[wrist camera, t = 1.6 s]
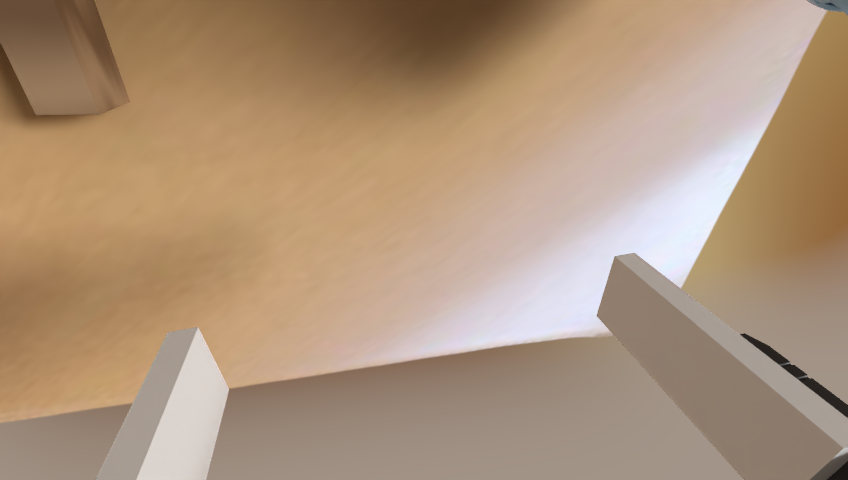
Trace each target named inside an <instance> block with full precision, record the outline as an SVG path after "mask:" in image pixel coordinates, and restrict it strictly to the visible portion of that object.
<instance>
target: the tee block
mask: <svg viewBox="0 0 848 480" xmlns="http://www.w3.org/2000/svg"><path fill="white" fill-rule="evenodd" d="M0 43H1V45H2V47H3V49H4V51H5V53H6V55H7V57H8V59H9V61H10V63H11V65H12V67H13V70H14V72H15V74H16V76H17V78H18V80H19V82H20V84H21V86H22V88H23V90H24V92H25V94H26V96H27V98H28V100H29V102H30V104H31V106H32V108H33V110H34V112H35V114H36V115H91V114H101V113H104V112H106V111H108V110H111V109H113V108H115V107H117V106H120V105H122V104H124V103H127V102H129V98H128V95H127V92H126V89H125V86H124V84H123V81H122V78H121V75H120V72H119V70H118V67H117V64H116V61H115V58H114V56H113V53H112V50H111V47H110V44H109V41H108V39H107V36H106V33H105V30H104V27H103V25H102V22H101V19H100V16H99V13H98V11H97V8H96V5H95V2H94V0H0Z"/></svg>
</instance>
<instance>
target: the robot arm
mask: <svg viewBox="0 0 848 480" xmlns="http://www.w3.org/2000/svg"><path fill="white" fill-rule="evenodd" d="M807 1H808V2H810V3H811V4H813V5H815V6H817V7H820V8H823V9H826V10H829V11H839V12H845V13H846V14H847V15H848V0H807ZM597 317H598V318H599V319H600V320H601V321H602V322H603V323H604V324H605V326H606V327H607V328H608V329H609V330H610V331H611V332H612V333H613V334H614V336H615V337H616V338H617V339H618V340H619V341H620V342H621V343H622V345H623V346H624V347H625V348H626V349H627V350H628V351H629V352H630V353H631V355H632V356H633V357H634V358H635V359H636V360H637V361H638V362H639V363H640V365H641V366H642V367H643V368H644V369H645V370H646V371H647V372H648V373H649V375H650V376H651V377H652V378H653V379H654V380H655V381H656V382H657V383H658V385H659V386H660V387H661V388H662V389H663V390H664V391H665V392H666V393H667V395H668V396H669V397H670V398H671V399H672V400H673V401H674V402H675V404H676V405H677V406H678V407H679V408H680V409H681V410H682V411H683V412H684V414H685V415H686V416H687V417H688V418H689V419H690V420H691V421H692V422H693V423H694V424H695V426H696V427H697V428H698V429H699V430H700V431H701V432H702V434H703V435H704V436H705V437H706V438H707V439H708V440H709V441H710V442H711V444H713V446H714V447H715V448H716V449H717V450H718V451H719V452H720V453H721V455H722V456H723V457H724V458H725V459H726V460H727V461H728V462H729V464H730V465H731V466H732V467H733V468H734V469H735V470H736V471H737V473H738V474H739V475H740V476H741V477H742V478H743V479H744V480H848V405H847V404H846V403H844V402H843V401H842V400H840V399H839V398H838V397H836V396H835V395H834V394H832V393H831V392H830V391H828V390H827V389H826V388H824V387H823V386H822V385H820V384H819V383H818V382H816V381H815V380H814V379H812V378H811V379H810V378H808V377H807V374H806V373H804V372H803V371H802V370H800V369H799V368H798V367H796V366H795V365H791V364H790V362H789V361H788V360H787V359H786V358H784V357H783V356H782V355H780V354H779V353H778V352H776V351H775V350H773V349H772V348H771V347H770V346H768V345H766V344H764V343H762V342H760V341H758V340H756V339H754V338H752V337H750V336H748V335H746V334H740V335H739V334H738V333H737V332H736V331H734V330H733V329H732V328H731V327H729V326H728V325H727V324H725V323H724V322H723V321H722V320H720V319H719V318H718V317H716V316H715V315H714V314H713V313H711V312H710V311H709V310H707V309H706V308H705V307H704V306H702V305H701V304H700V303H698V302H697V301H696V300H694V299H693V298H692V297H691V296H689V295H688V294H687V293H685V292H684V291H683V290H682V289H680V288H679V287H678V286H676V285H675V284H674V283H673V282H671V281H670V280H669V279H667V278H666V277H665V276H664V275H662V274H661V273H660V272H658V271H657V270H656V269H654V268H653V267H652V266H651V265H649V264H648V263H647V262H645V261H644V260H643V259H642V258H640V257H639V256H638V255H636V254H635V253H631V254H625V255H620V256H615V257H614V261H613V264H612V267H611V270H610V274H609V277H608V280H607V284H606V287H605V290H604V293H603V297H602V300H601V303H600V306H599V310H598V313H597ZM228 391H229V388H228V386H227V384H226V382H225V380H224V378H223V376H222V374H221V372H220V370H219V368H218V366H217V364H216V362H215V360H214V358H213V356H212V354H211V352H210V350H209V348H208V346H207V344H206V342H205V340H204V338H203V336H202V334H201V332H200V330H199V328H198V327H196V328H190V329H184V330H178V331H172V332H168V333H167V335H166V337H165V339H164V341H163V343H162V345H161V347H160V349H159V351H158V353H157V355H156V357H155V359H154V361H153V363H152V365H151V367H150V369H149V372H148V374H147V376H146V378H145V380H144V382H143V384H142V386H141V388H140V390H139V392H138V394H137V396H136V398H135V400H134V402H133V404H132V406H131V408H130V411H129V412H128V414H127V416H126V418H125V420H124V422H123V424H122V426H121V428H120V430H119V433H118V435H117V436H116V439H115V441H114V443H113V445H112V447H111V449H110V451H109V453H108V455H107V457H106V459H105V461H104V463H103V465H102V467H101V469H100V471H99V473H98V475H97V477H96V479H95V480H206V478H207V474H208V470H209V465H210V462H211V458H212V454H213V450H214V446H215V442H216V438H217V435H218V431H219V427H220V423H221V419H222V415H223V411H224V407H225V403H226V399H227V395H228Z"/></svg>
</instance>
